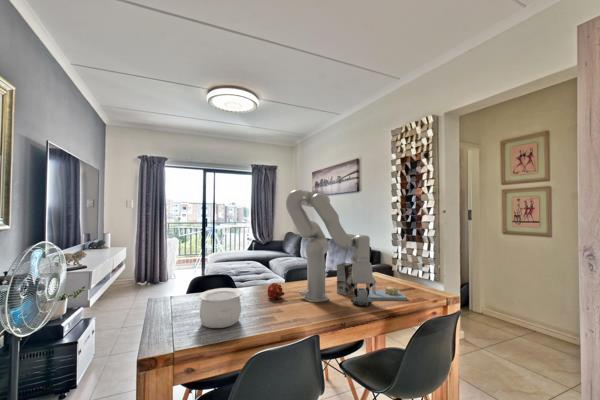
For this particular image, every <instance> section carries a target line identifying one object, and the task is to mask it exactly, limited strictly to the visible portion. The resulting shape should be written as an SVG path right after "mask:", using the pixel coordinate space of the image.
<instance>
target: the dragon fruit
mask: <svg viewBox="0 0 600 400" xmlns="http://www.w3.org/2000/svg"><path fill="white" fill-rule="evenodd" d="M284 295H285V292H284V291H283V288H282V285H281V284H278V282H272V283H271V284H270V285H269V286H268V287H267V296H268V298H271V299H272V300H273V301H276V299H280V298H281V297H282V296H284Z"/></svg>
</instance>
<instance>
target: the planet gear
mask: <svg viewBox="0 0 600 400" xmlns="http://www.w3.org/2000/svg"><path fill="white" fill-rule="evenodd" d="M373 301H374V300H372V299H370V298H367V290H366V287H363V288H362V287H357V297H356V296H355V295H354V297H353V296H351V297H350V302H351V303H352V304H354V305H358V306H369V305H372V304H373V303H374V302H373Z"/></svg>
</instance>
